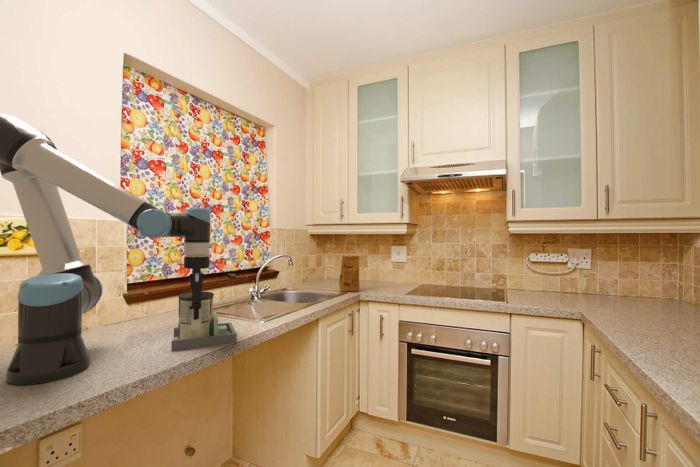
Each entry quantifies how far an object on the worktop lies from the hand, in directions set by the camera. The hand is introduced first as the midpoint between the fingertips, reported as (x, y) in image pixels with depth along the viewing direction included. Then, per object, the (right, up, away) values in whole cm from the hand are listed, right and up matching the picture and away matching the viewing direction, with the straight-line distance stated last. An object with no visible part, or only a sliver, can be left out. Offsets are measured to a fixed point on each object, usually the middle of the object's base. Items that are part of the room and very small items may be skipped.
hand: (195, 325), depth 106 cm
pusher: (+7, -5, +3) cm, 9 cm away
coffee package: (+49, -7, +100) cm, 112 cm away
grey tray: (+2, -5, +1) cm, 6 cm away
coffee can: (0, -4, 0) cm, 4 cm away
